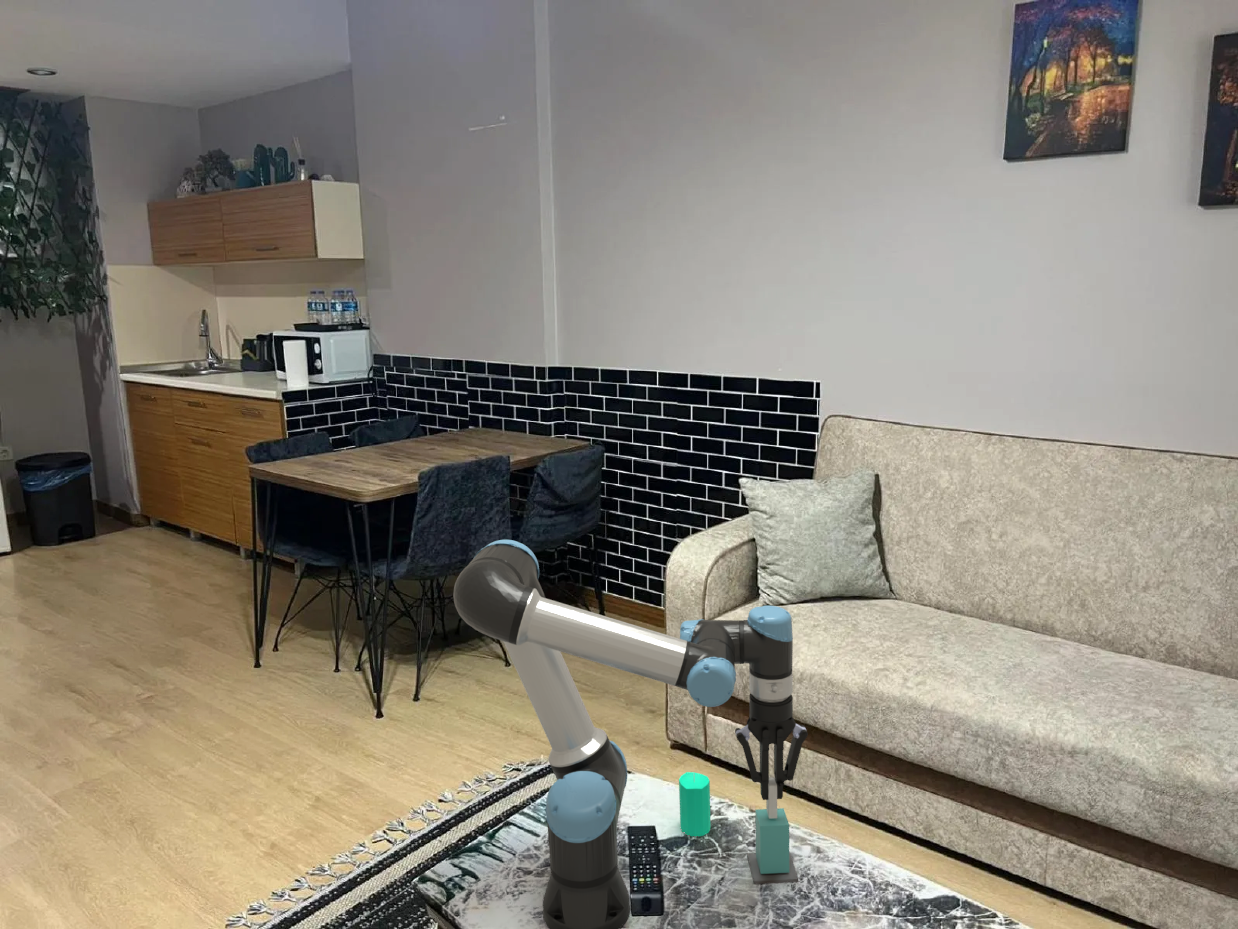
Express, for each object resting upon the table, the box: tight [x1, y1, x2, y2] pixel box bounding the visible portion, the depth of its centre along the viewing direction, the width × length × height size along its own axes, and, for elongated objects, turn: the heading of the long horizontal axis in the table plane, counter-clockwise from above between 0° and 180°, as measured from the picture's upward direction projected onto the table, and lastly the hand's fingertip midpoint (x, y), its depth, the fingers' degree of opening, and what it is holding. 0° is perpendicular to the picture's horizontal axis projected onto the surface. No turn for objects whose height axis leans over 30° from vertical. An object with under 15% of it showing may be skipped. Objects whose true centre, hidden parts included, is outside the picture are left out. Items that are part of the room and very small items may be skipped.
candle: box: [678, 771, 712, 838], centre depth 181 cm, size 6×6×12 cm
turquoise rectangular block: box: [754, 807, 790, 874], centre depth 167 cm, size 5×5×10 cm
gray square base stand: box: [746, 850, 799, 885], centre depth 168 cm, size 8×8×10 cm
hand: (771, 814), depth 166 cm, fingers closed
